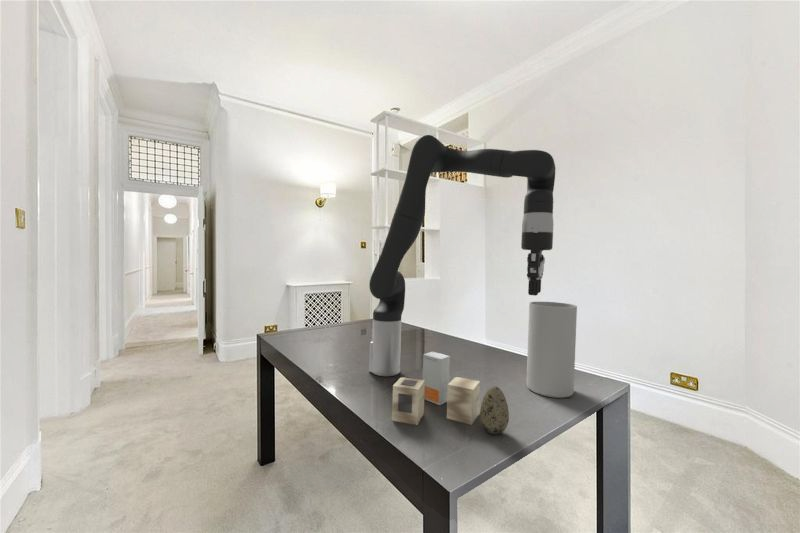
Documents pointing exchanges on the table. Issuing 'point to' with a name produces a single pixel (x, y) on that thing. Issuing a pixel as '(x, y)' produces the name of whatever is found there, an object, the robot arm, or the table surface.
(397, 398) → the marked block
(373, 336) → the robot arm
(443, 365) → the skincare box
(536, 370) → the cylinder vase
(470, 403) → the birch block
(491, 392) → the decorative egg
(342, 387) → the table surface
